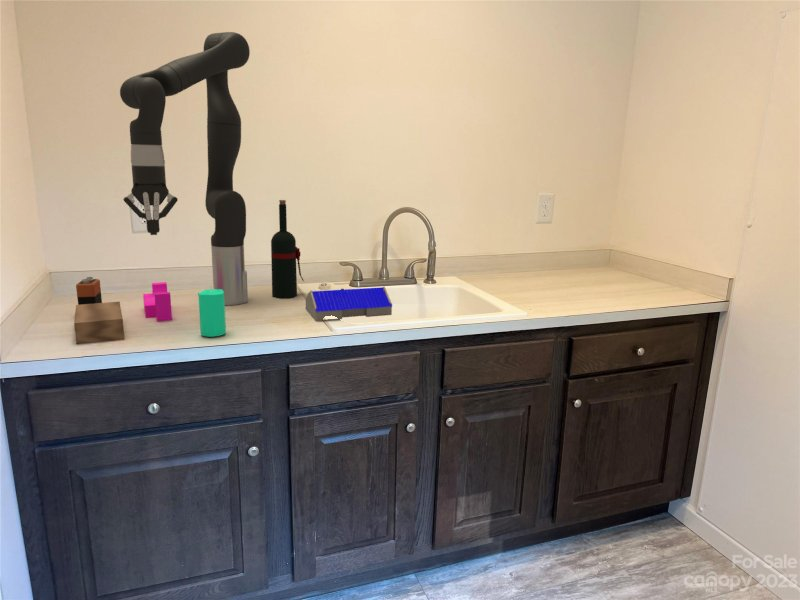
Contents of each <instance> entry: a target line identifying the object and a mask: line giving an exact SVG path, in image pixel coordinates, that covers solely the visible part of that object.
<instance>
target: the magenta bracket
mask: <svg viewBox="0 0 800 600" xmlns="http://www.w3.org/2000/svg"><path fill="white" fill-rule="evenodd" d="M151 289H152V290H151V291H152V293H150V292H149V293H143V294H142V297H143V298H142V299H143V310H144V314H145V315H144V316H145V319H149V318H150V319H151V318H155V319H156V322H167V321H168V322H169V321H173V313H172V300H171V299H172V298H171V292H170V291H168V284H167V282H166V281H165V282H163V281H160V282H152V283H151Z"/></svg>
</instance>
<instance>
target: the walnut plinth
mask: <svg viewBox="0 0 800 600" xmlns="http://www.w3.org/2000/svg"><path fill="white" fill-rule="evenodd" d="M73 324H74V326H73V327H74V335H75V336H74V337H75V341H76V343H75V344H76V345H81V344H82V345H83V344H91V343H99V342H100V343H101V342H109V341H120V340H125V330H124V319H123V314H122V308H121V302H120V301H109V302H108V301H107V302H102V303H94V304H82V305H78V304H75V312H74V320H73Z"/></svg>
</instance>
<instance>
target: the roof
mask: <svg viewBox="0 0 800 600" xmlns="http://www.w3.org/2000/svg"><path fill="white" fill-rule="evenodd" d="M305 310H306V312H307V313H308V314H309V315H310V316H311V318H312V319H313V320H314V322H322V320H323V318H324V317H325V316H331V315H332V316H335V317H337V318H338V319H337V320H342V319H343V318H351V317H352V318H354V317H365V318H372V317H384V316H392V312H393V311H392V310H393V303H392V301H391V299H390V296H389V293H388V291H387V288H386V287H385V285H384V286H382V287H366V288H365V287H364V288H349V289H344V288H340V289H330V290H316V291H315V290H314V291H313V290H309V292H308V294H307V295H306V296H305Z"/></svg>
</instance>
